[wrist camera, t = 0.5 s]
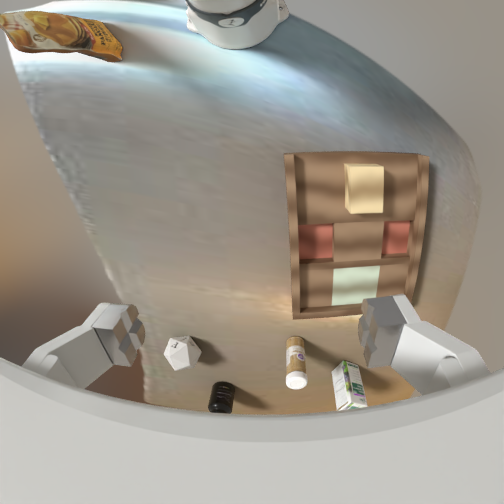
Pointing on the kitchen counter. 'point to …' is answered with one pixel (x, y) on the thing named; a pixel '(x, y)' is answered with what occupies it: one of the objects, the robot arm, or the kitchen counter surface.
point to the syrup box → (348, 386)
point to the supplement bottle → (221, 398)
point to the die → (182, 352)
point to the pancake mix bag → (60, 34)
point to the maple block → (364, 188)
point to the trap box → (352, 231)
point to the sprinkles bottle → (296, 363)
